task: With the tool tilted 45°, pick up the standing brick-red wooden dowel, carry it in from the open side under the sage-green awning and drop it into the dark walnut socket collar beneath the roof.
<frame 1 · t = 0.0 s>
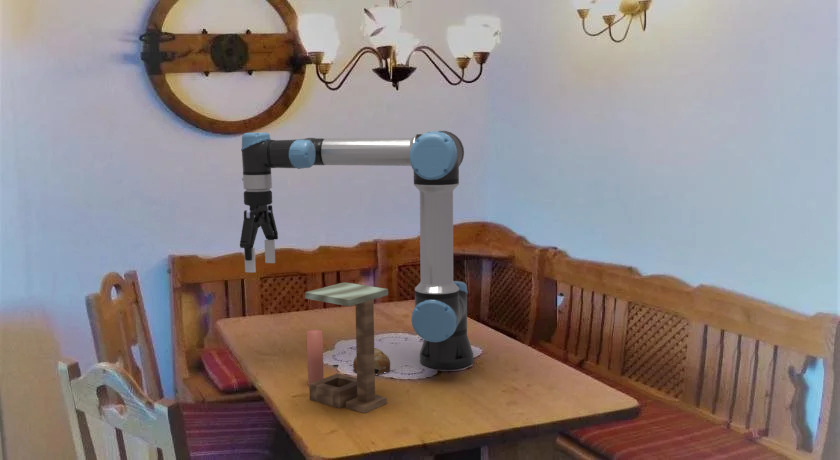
hand: (260, 267, 219), 28 cm above the table, tool pointing down, fingers open, 13 cm apart
bread roll: (371, 370, 219), on the table
awning socket: (338, 398, 197), on the table
peg: (316, 383, 208), on the table
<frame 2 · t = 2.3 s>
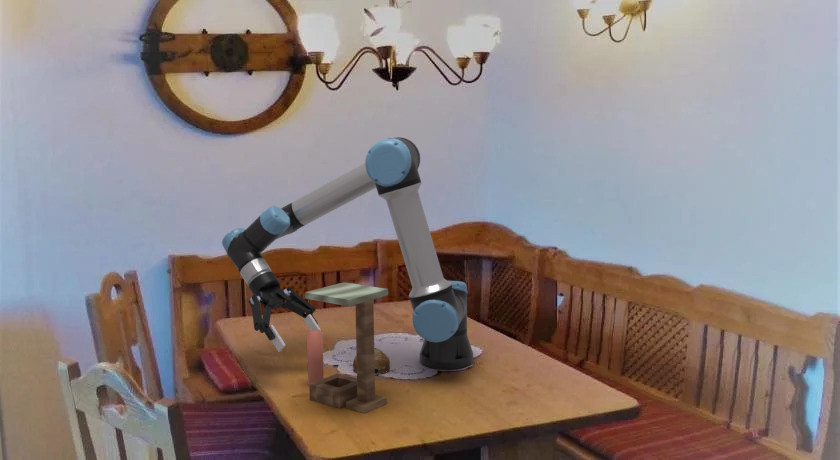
hand: (301, 342, 209), 10 cm above the table, tool tilted 45°, fingers open, 13 cm apart
nothing on the table moved.
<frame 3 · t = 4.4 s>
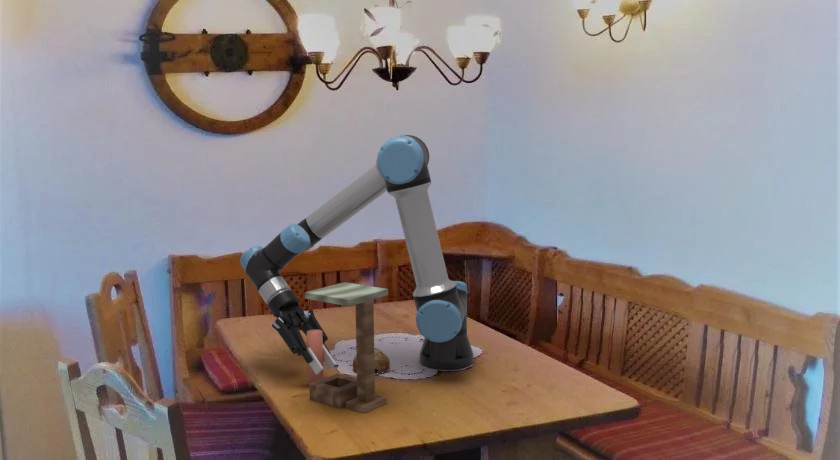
hand: (326, 369, 205), 5 cm above the table, tool tilted 45°, fingers closed on peg, 4 cm apart
peg: (316, 383, 208), on the table, touching gripper
everything else where it was.
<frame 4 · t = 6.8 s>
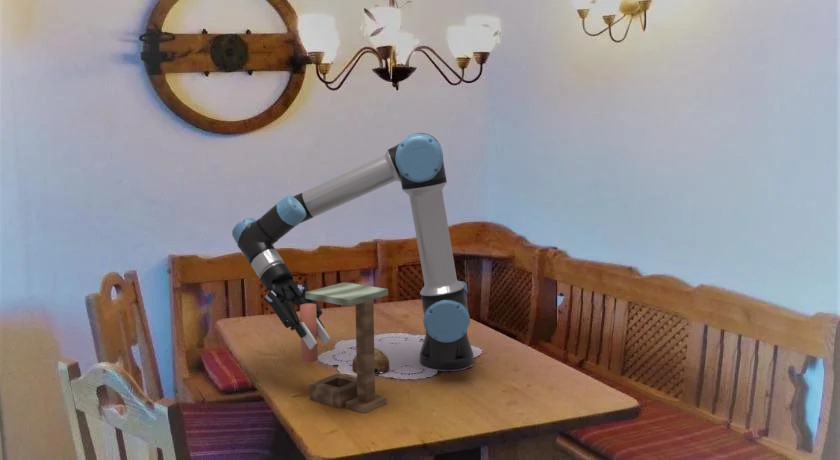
hand: (320, 343, 198), 13 cm above the table, tool tilted 45°, fingers closed on peg, 4 cm apart
peg: (309, 359, 201), point 8 cm above the table, touching gripper
everything else where it was.
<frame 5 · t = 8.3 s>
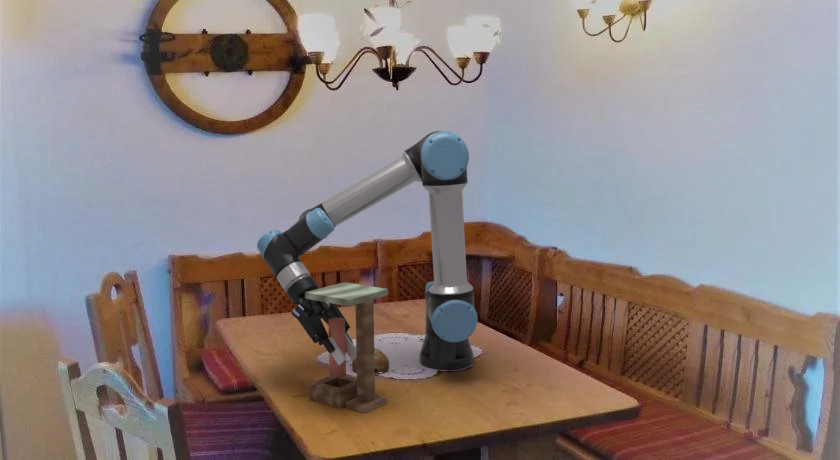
hand: (349, 359, 194), 11 cm above the table, tool tilted 45°, fingers closed on peg, 4 cm apart
peg: (337, 375, 197), point 6 cm above the table, touching gripper
everything else where it was.
when the fingers open (6 cm above the table, at t = 9.4 s): peg drops 2 cm, resting in awning socket.
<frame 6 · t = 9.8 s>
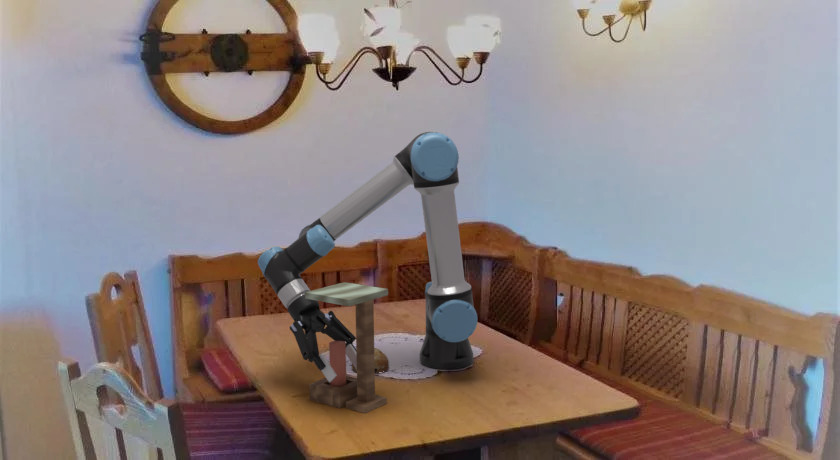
hand: (347, 373, 195), 7 cm above the table, tool tilted 45°, fingers open, 9 cm apart
peg: (338, 398, 197), resting in awning socket
everything else where it was.
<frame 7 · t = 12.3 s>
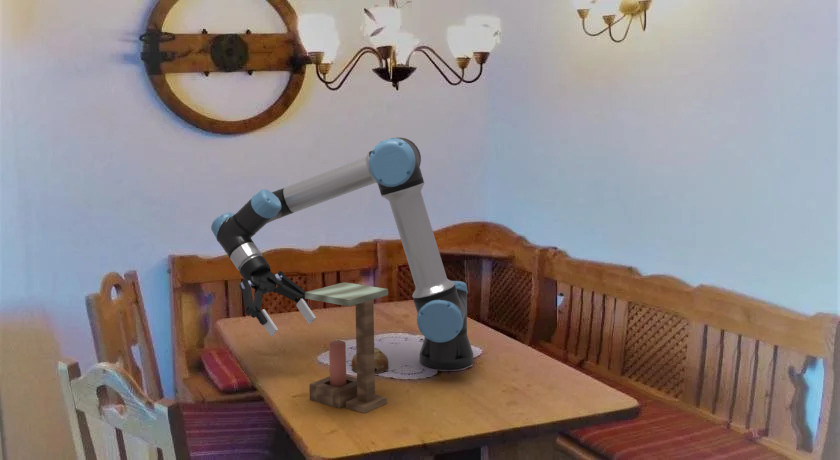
hand: (294, 326, 205), 16 cm above the table, tool tilted 45°, fingers open, 13 cm apart
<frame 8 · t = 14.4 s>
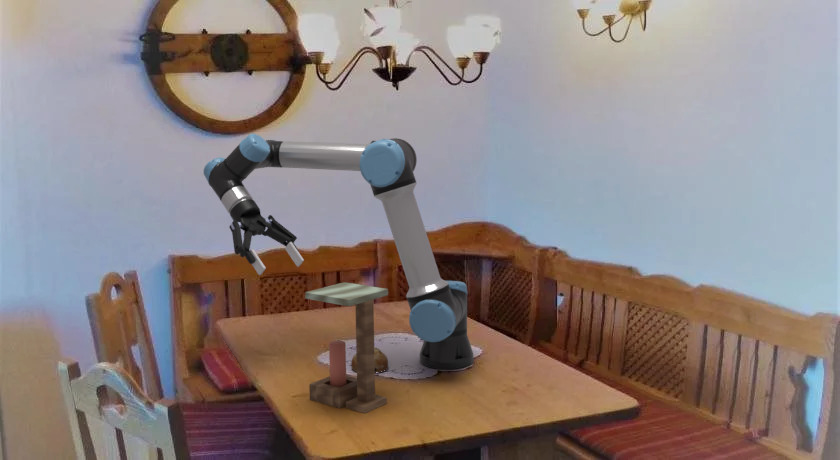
hand: (282, 267, 210), 30 cm above the table, tool tilted 45°, fingers open, 13 cm apart
at the end: peg 0.0 cm off-centre on the awning socket, point 0.0 cm above the awning socket's base; peg tilted 0°; the gripper is holding nothing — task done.
